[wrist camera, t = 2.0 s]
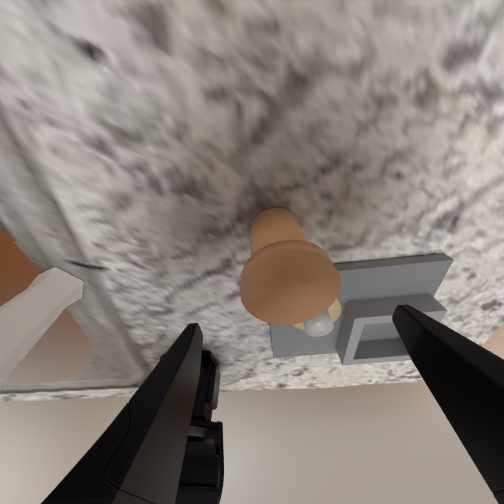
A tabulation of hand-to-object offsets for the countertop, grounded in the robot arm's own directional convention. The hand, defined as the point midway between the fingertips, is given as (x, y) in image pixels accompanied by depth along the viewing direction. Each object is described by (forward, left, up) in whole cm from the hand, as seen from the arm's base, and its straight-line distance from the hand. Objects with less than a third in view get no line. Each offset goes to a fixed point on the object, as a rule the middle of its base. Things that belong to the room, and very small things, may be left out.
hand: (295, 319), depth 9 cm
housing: (+7, -10, -9) cm, 15 cm away
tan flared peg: (0, 0, -9) cm, 9 cm away
